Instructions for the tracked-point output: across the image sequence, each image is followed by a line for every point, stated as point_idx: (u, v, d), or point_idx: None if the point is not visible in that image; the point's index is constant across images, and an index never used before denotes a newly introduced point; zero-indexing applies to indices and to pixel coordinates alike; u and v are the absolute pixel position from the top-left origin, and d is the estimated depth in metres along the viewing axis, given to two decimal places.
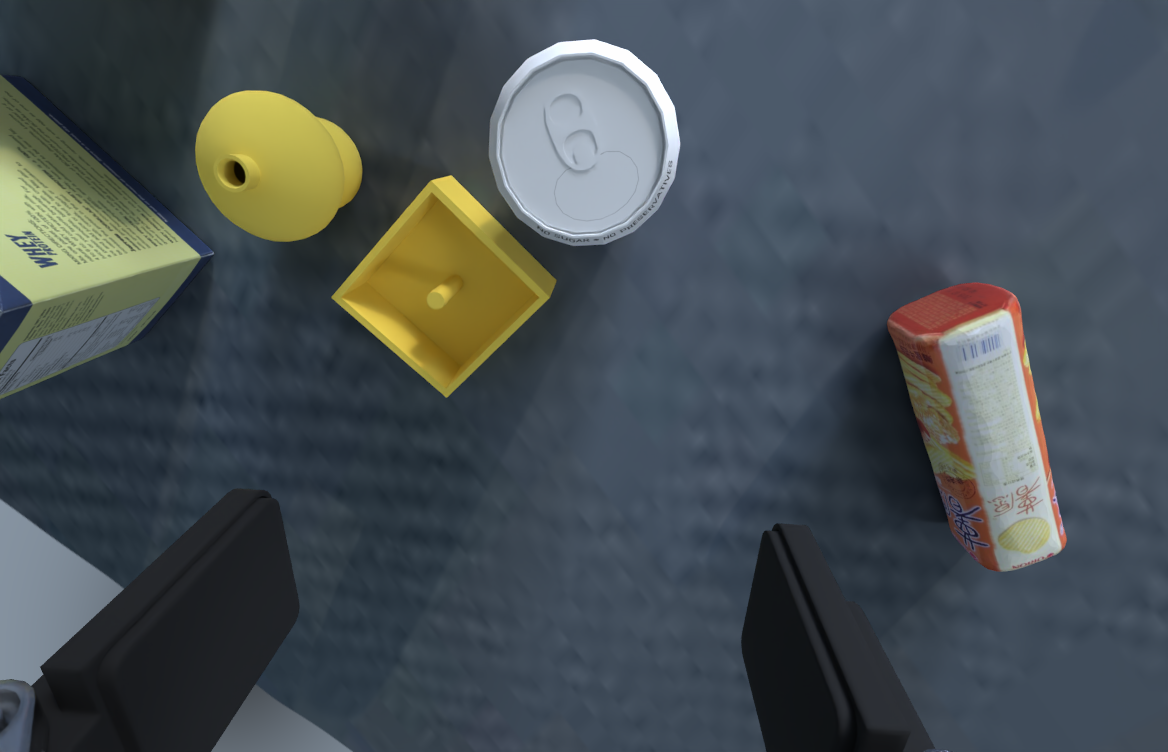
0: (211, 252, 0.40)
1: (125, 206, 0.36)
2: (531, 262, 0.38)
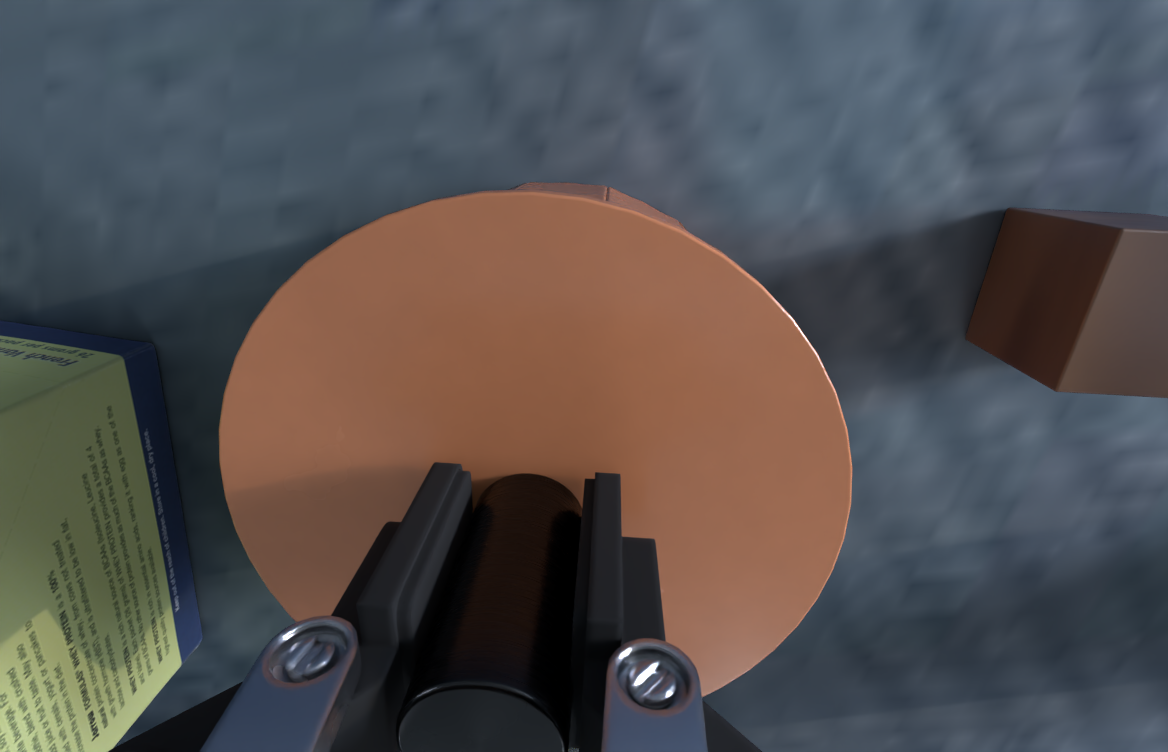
0: (199, 642, 0.27)
1: (139, 616, 0.22)
2: None
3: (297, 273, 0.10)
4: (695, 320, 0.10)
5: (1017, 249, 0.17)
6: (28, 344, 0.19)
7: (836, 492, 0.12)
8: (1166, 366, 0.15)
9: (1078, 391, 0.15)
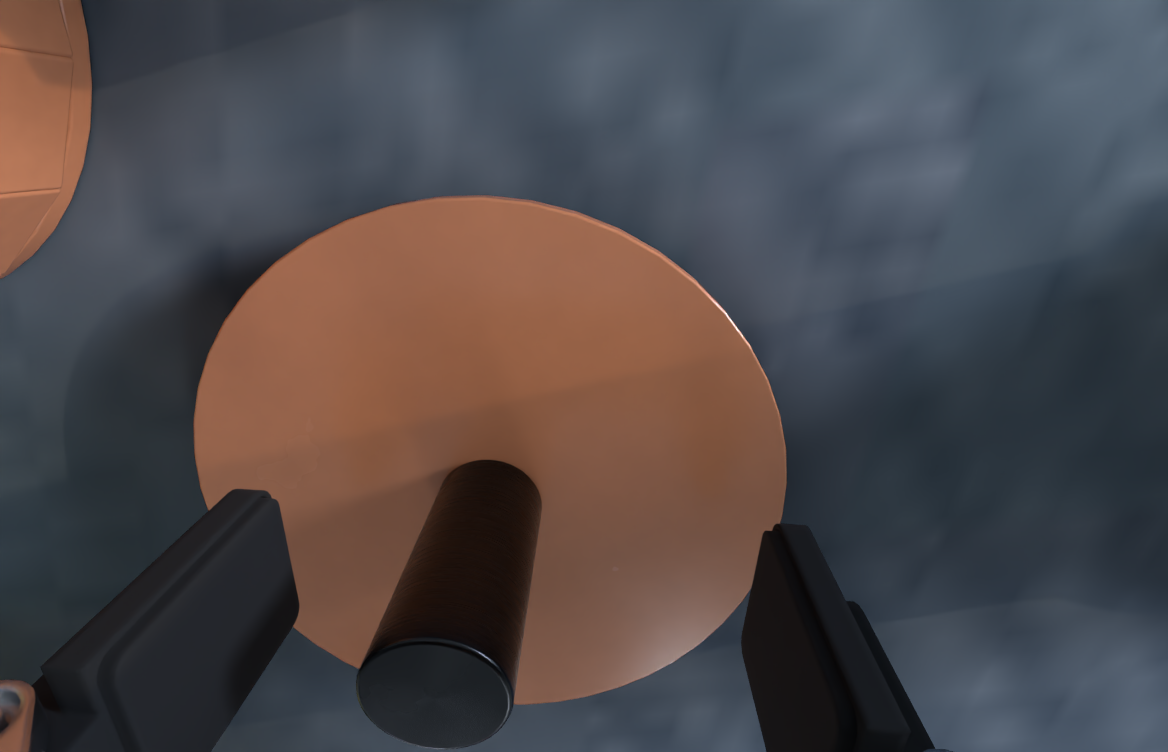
0: None
1: None
2: None
3: (266, 273, 0.11)
4: (636, 314, 0.11)
5: None
6: None
7: (772, 472, 0.13)
8: None
9: None
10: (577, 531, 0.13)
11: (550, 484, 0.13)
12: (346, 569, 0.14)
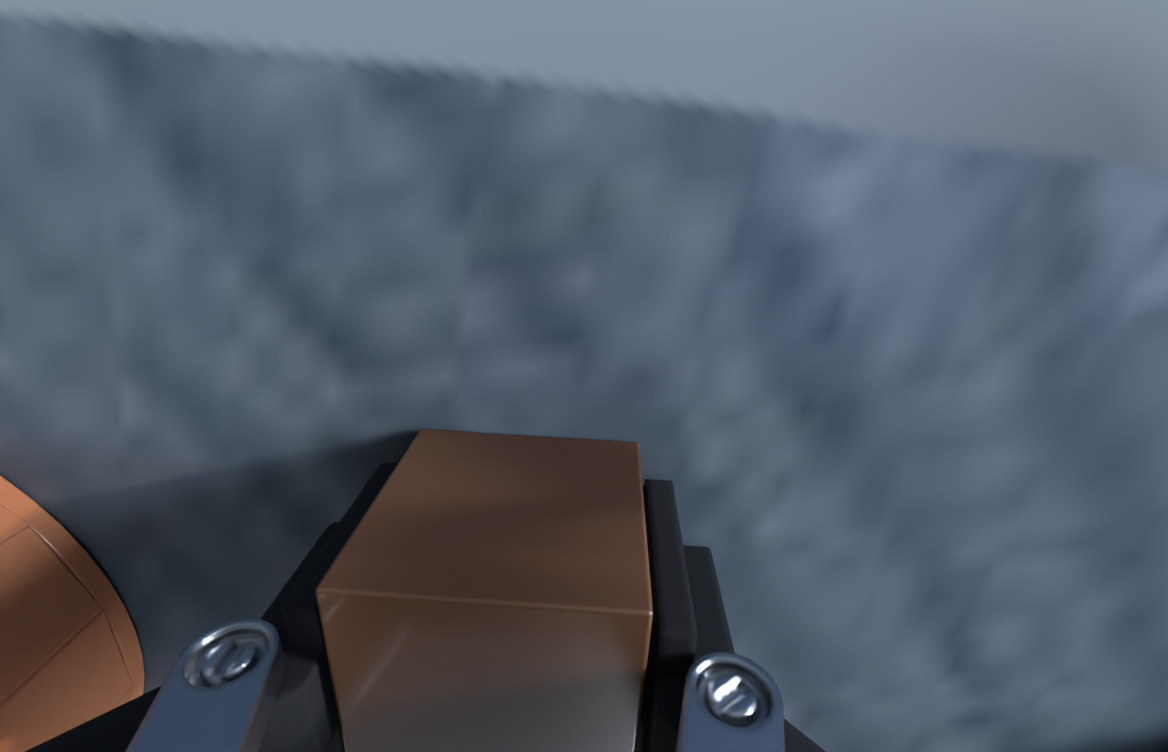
0: None
1: None
2: None
3: None
4: None
5: None
6: None
7: None
8: None
9: None
10: None
11: None
12: None
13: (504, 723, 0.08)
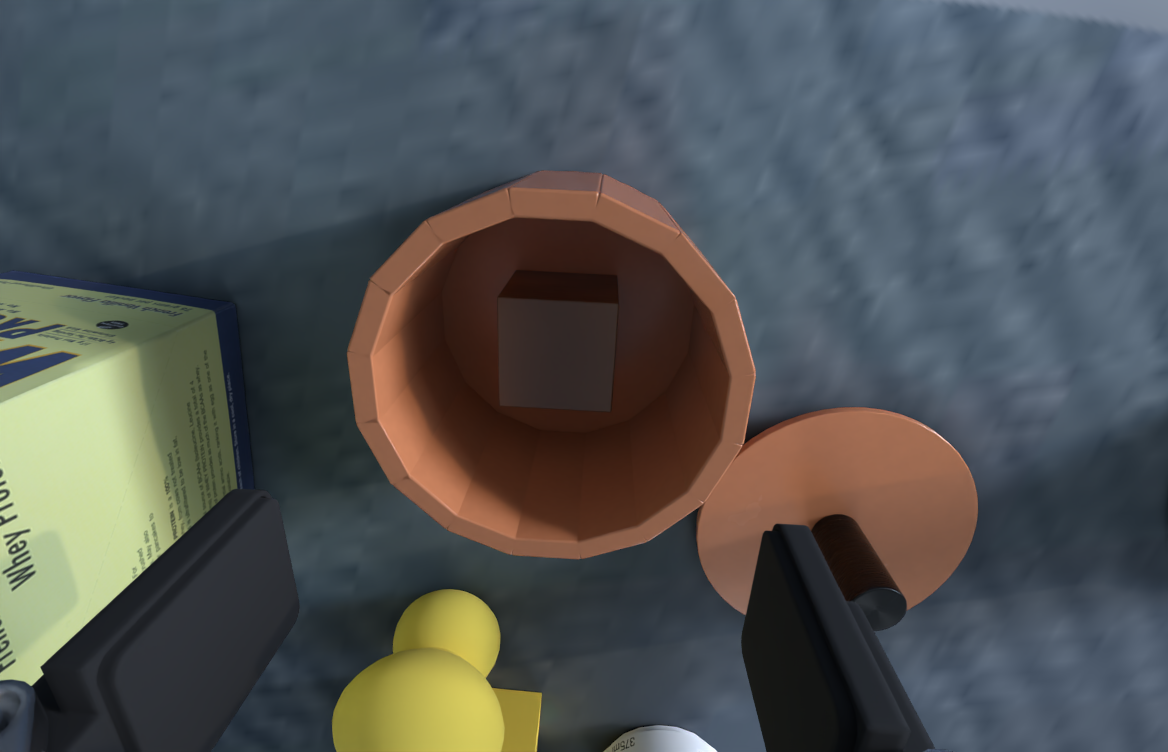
0: None
1: None
2: None
3: (764, 437, 0.26)
4: (921, 455, 0.26)
5: None
6: (140, 301, 0.24)
7: (970, 521, 0.28)
8: (564, 388, 0.22)
9: (513, 406, 0.22)
10: (872, 547, 0.28)
11: (864, 525, 0.28)
12: (754, 563, 0.29)
13: (563, 359, 0.21)
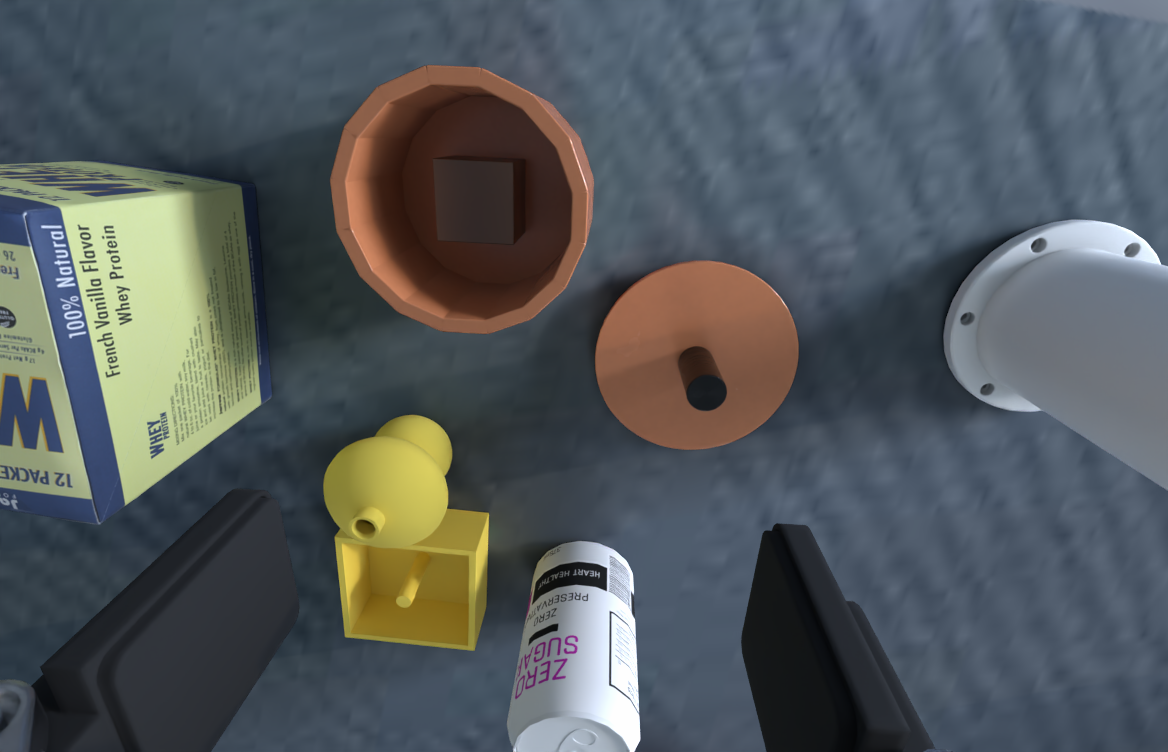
0: (270, 396, 0.41)
1: (242, 352, 0.37)
2: (483, 599, 0.47)
3: (637, 283, 0.36)
4: (751, 297, 0.36)
5: None
6: (189, 176, 0.34)
7: (793, 351, 0.37)
8: (480, 226, 0.31)
9: (447, 240, 0.32)
10: (724, 373, 0.38)
11: (717, 355, 0.38)
12: (639, 389, 0.39)
13: (478, 204, 0.31)
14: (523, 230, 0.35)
